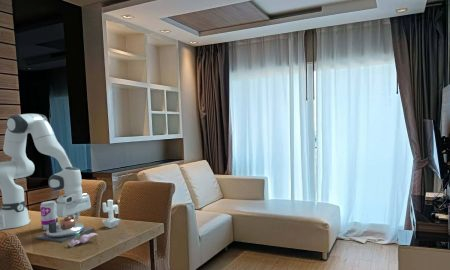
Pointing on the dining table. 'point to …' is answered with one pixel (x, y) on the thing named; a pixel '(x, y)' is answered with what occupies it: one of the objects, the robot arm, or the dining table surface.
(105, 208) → the figurine
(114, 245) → the dining table surface
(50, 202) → the supplement can
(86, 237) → the rabbit figure
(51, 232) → the turntable
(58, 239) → the plinth
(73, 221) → the cover
